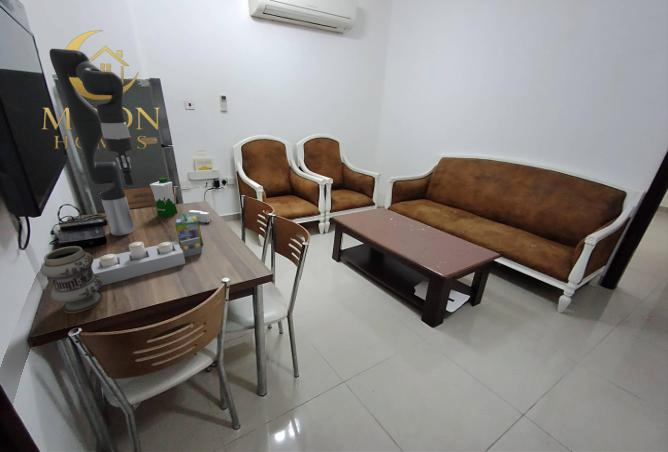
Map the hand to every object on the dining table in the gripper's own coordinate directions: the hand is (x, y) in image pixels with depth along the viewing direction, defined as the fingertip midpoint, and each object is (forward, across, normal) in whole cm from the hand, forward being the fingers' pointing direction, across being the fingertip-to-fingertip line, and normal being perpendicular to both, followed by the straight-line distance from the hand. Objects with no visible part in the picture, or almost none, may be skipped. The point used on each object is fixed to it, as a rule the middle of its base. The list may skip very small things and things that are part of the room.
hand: (129, 184), depth 108 cm
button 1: (+27, +10, -12) cm, 32 cm away
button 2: (+25, +11, -3) cm, 27 cm away
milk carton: (+32, -45, +15) cm, 57 cm away
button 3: (+27, +11, +6) cm, 30 cm away
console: (+30, +11, -3) cm, 32 cm away
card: (+30, +11, +15) cm, 35 cm away
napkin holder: (+32, -26, +27) cm, 49 cm away
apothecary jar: (+29, +24, -20) cm, 43 cm away
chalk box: (+30, -1, +17) cm, 35 cm away
